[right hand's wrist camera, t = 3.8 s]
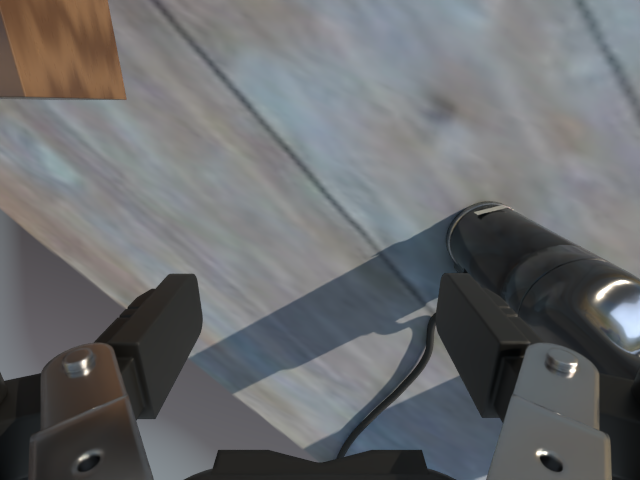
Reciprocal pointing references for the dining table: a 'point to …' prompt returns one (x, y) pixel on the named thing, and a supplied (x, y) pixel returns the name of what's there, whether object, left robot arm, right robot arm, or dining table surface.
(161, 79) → the dining table surface
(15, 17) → the box
